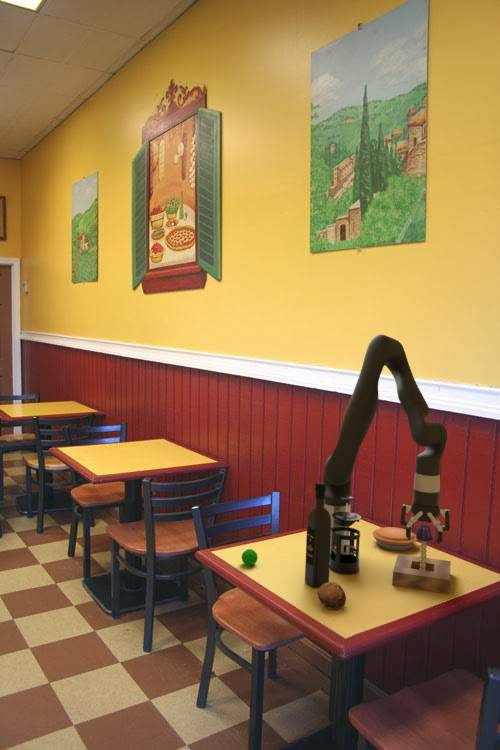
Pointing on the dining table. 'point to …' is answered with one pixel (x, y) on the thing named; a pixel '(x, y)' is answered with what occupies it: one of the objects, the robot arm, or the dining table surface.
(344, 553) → the french press
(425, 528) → the toy lamp
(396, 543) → the pie
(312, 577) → the wine bottle
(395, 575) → the socket block
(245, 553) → the green ball
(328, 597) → the brown round lump
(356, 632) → the dining table surface
